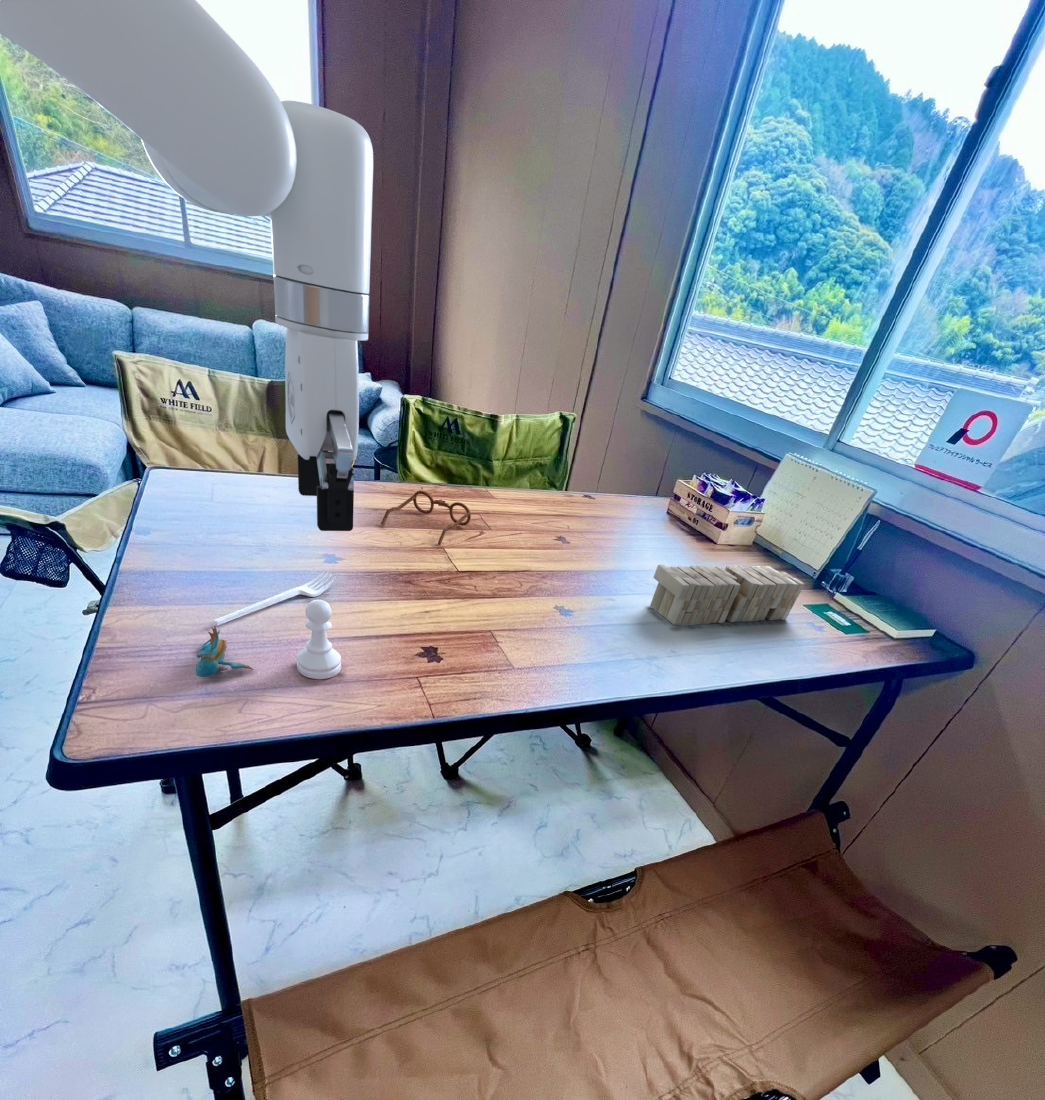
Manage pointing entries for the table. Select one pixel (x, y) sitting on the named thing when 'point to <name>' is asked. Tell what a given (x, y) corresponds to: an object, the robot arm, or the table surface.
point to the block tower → (723, 594)
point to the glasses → (432, 510)
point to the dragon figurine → (214, 657)
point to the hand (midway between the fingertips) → (324, 511)
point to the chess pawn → (318, 644)
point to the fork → (282, 597)
